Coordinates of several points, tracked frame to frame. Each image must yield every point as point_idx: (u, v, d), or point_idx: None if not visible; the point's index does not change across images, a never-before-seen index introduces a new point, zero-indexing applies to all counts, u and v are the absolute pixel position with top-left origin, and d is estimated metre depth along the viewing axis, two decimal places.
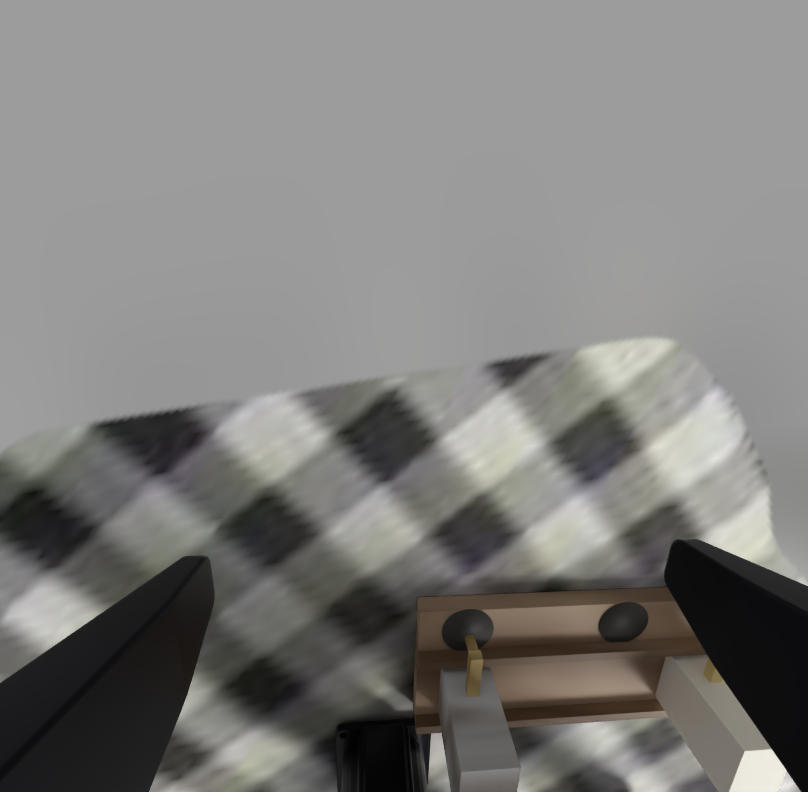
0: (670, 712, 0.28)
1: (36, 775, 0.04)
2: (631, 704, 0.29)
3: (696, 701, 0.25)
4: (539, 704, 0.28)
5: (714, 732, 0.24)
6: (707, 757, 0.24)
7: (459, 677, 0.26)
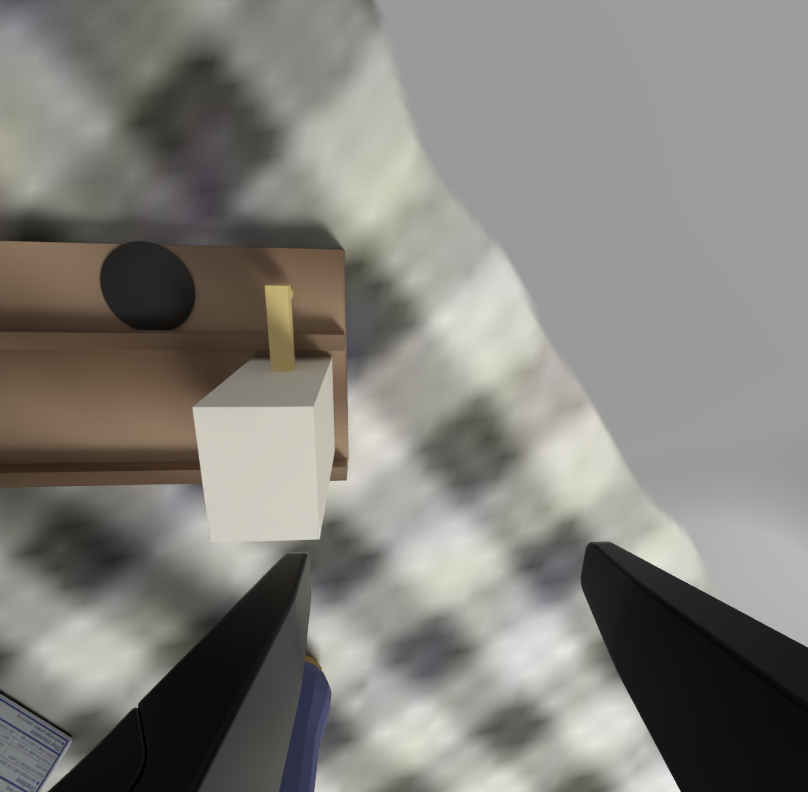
0: None
1: (228, 761, 0.04)
2: None
3: None
4: (55, 458, 0.17)
5: None
6: None
7: None
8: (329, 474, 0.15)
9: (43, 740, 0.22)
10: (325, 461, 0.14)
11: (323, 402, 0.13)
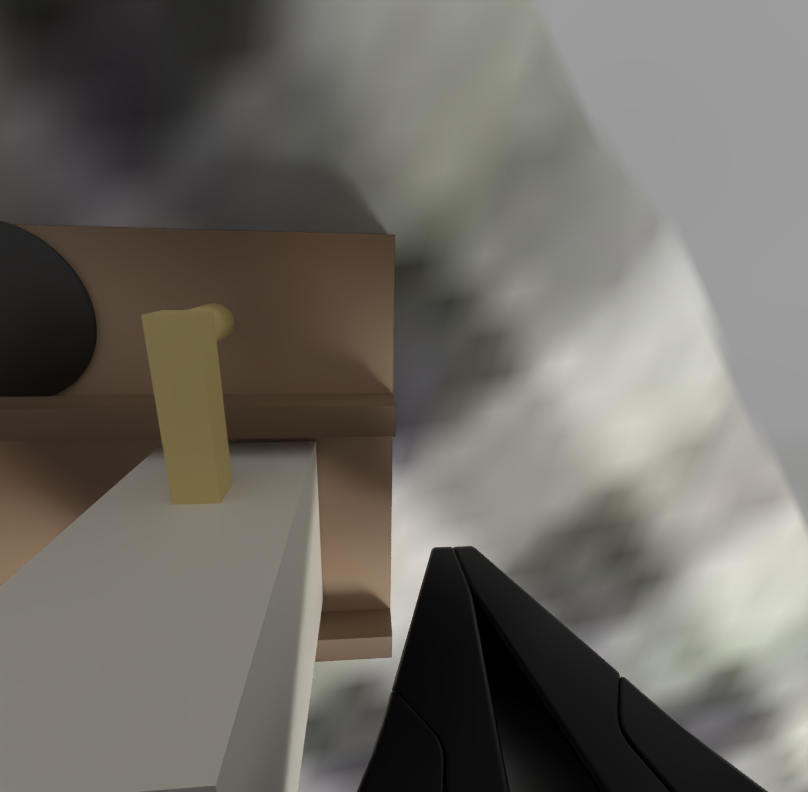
0: None
1: None
2: None
3: None
4: None
5: None
6: None
7: None
8: (307, 699, 0.07)
9: None
10: (293, 721, 0.06)
11: (284, 604, 0.05)
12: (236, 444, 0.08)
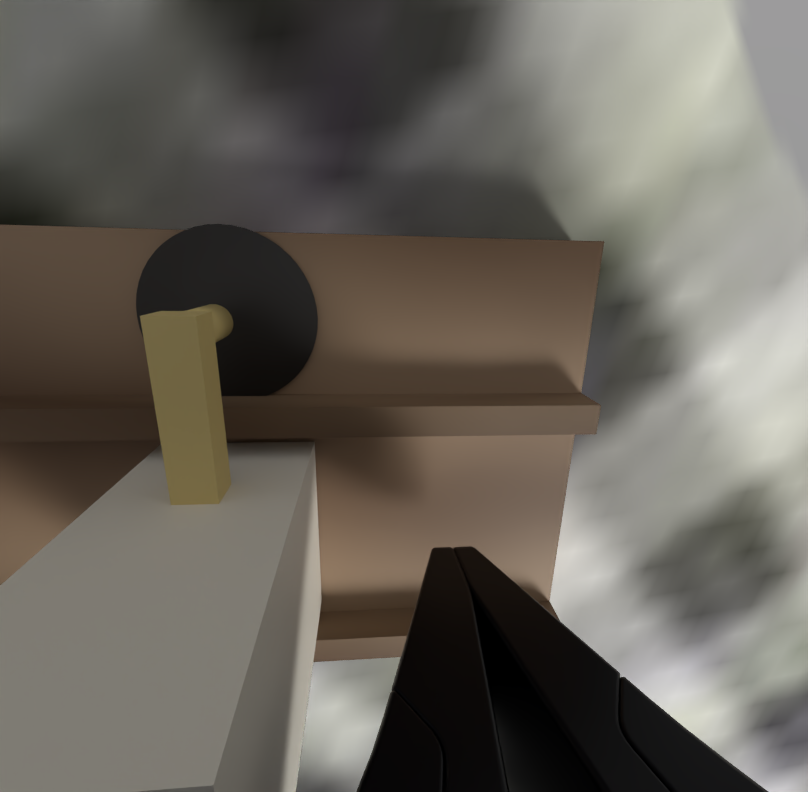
0: None
1: None
2: (335, 619, 0.10)
3: None
4: None
5: None
6: None
7: None
8: (306, 699, 0.07)
9: None
10: (291, 721, 0.06)
11: (282, 604, 0.05)
12: (236, 444, 0.08)
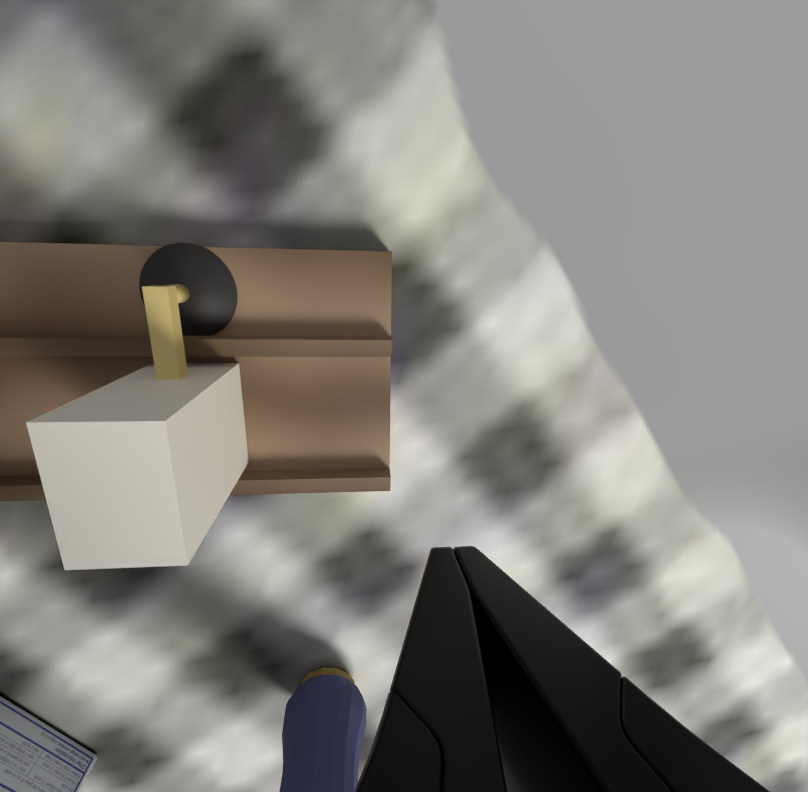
0: None
1: None
2: (256, 473, 0.17)
3: None
4: None
5: None
6: None
7: None
8: (228, 489, 0.14)
9: (68, 758, 0.21)
10: (212, 477, 0.13)
11: (205, 413, 0.12)
12: (194, 363, 0.15)
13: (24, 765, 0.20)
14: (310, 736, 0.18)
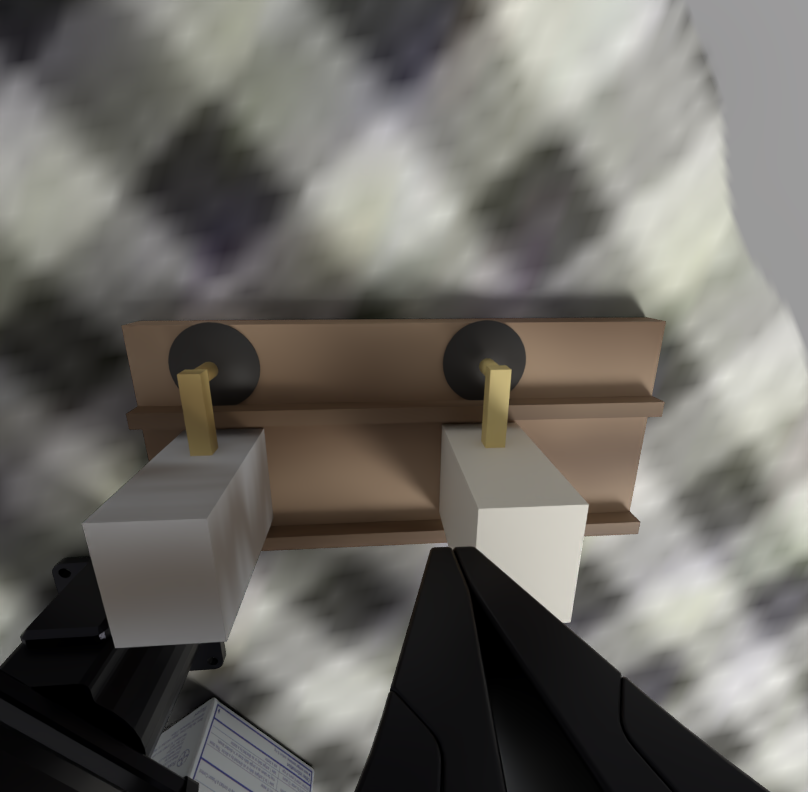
0: (445, 523, 0.17)
1: None
2: None
3: (454, 475, 0.14)
4: (367, 518, 0.18)
5: (463, 510, 0.13)
6: None
7: None
8: None
9: (297, 772, 0.23)
10: None
11: None
12: (478, 424, 0.17)
13: (272, 780, 0.21)
14: None
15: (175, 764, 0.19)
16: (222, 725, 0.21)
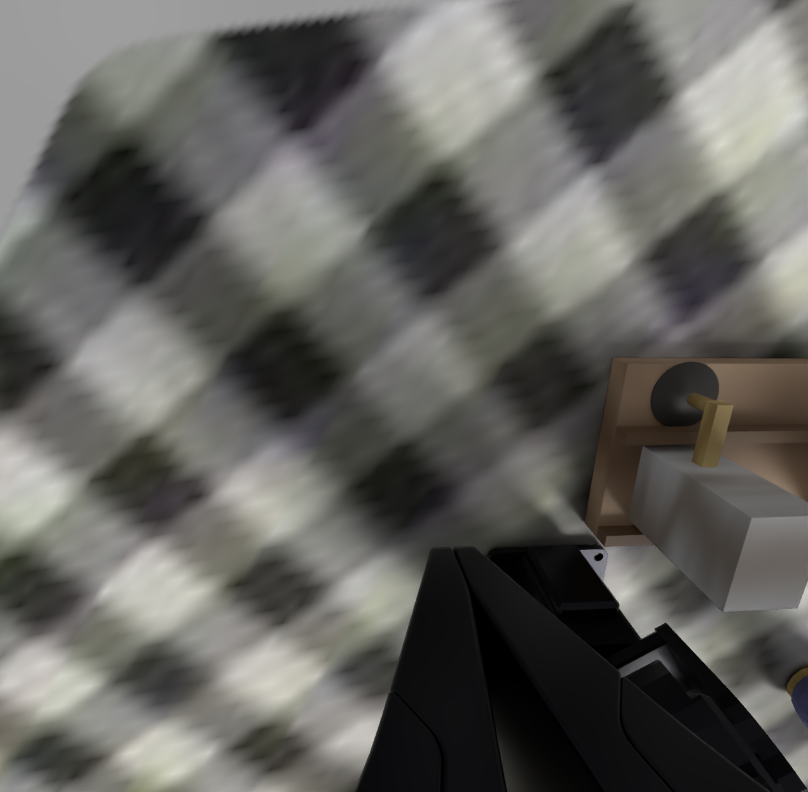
0: None
1: None
2: None
3: None
4: None
5: None
6: None
7: (677, 454, 0.19)
8: None
9: None
10: None
11: None
12: None
13: None
14: None
15: None
16: None
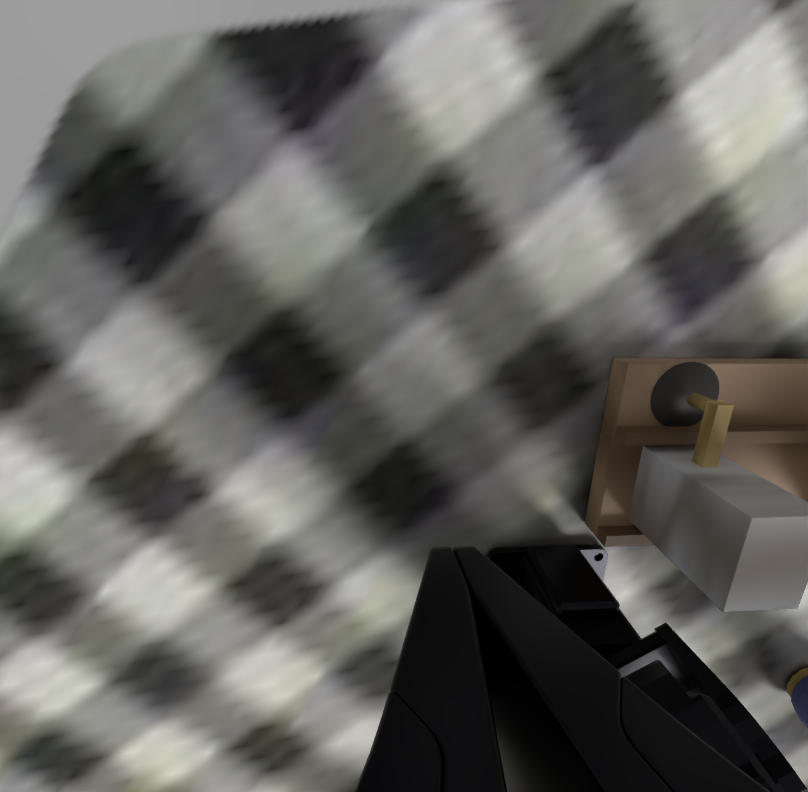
0: None
1: None
2: None
3: None
4: None
5: None
6: None
7: (677, 455, 0.19)
8: None
9: None
10: None
11: None
12: None
13: None
14: None
15: None
16: None
